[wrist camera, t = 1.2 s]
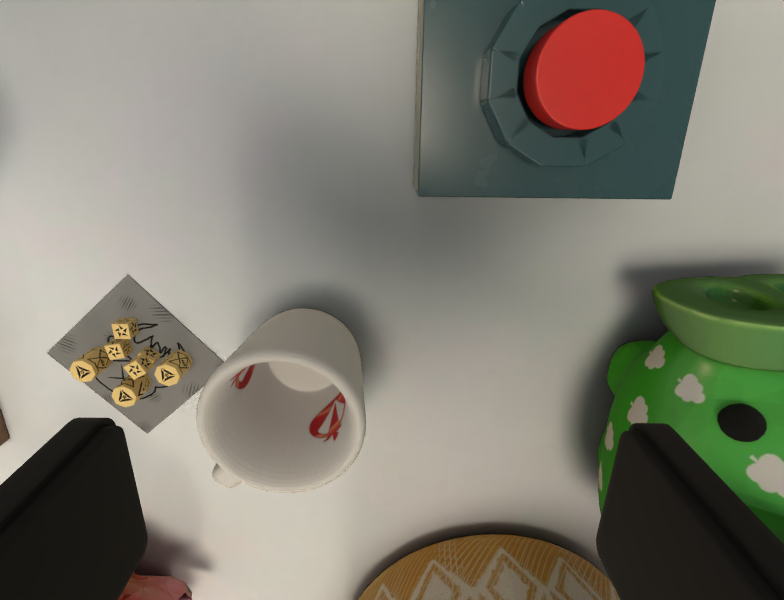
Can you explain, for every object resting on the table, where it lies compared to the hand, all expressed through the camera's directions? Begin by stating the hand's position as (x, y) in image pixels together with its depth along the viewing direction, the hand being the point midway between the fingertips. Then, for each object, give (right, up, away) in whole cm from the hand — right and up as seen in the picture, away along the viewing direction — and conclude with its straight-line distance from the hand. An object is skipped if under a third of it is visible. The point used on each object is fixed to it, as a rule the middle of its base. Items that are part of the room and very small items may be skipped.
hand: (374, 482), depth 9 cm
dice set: (-16, 0, +20) cm, 26 cm away
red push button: (+8, +12, +10) cm, 17 cm away
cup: (-6, -1, +21) cm, 21 cm away
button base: (+8, +14, +15) cm, 22 cm away
